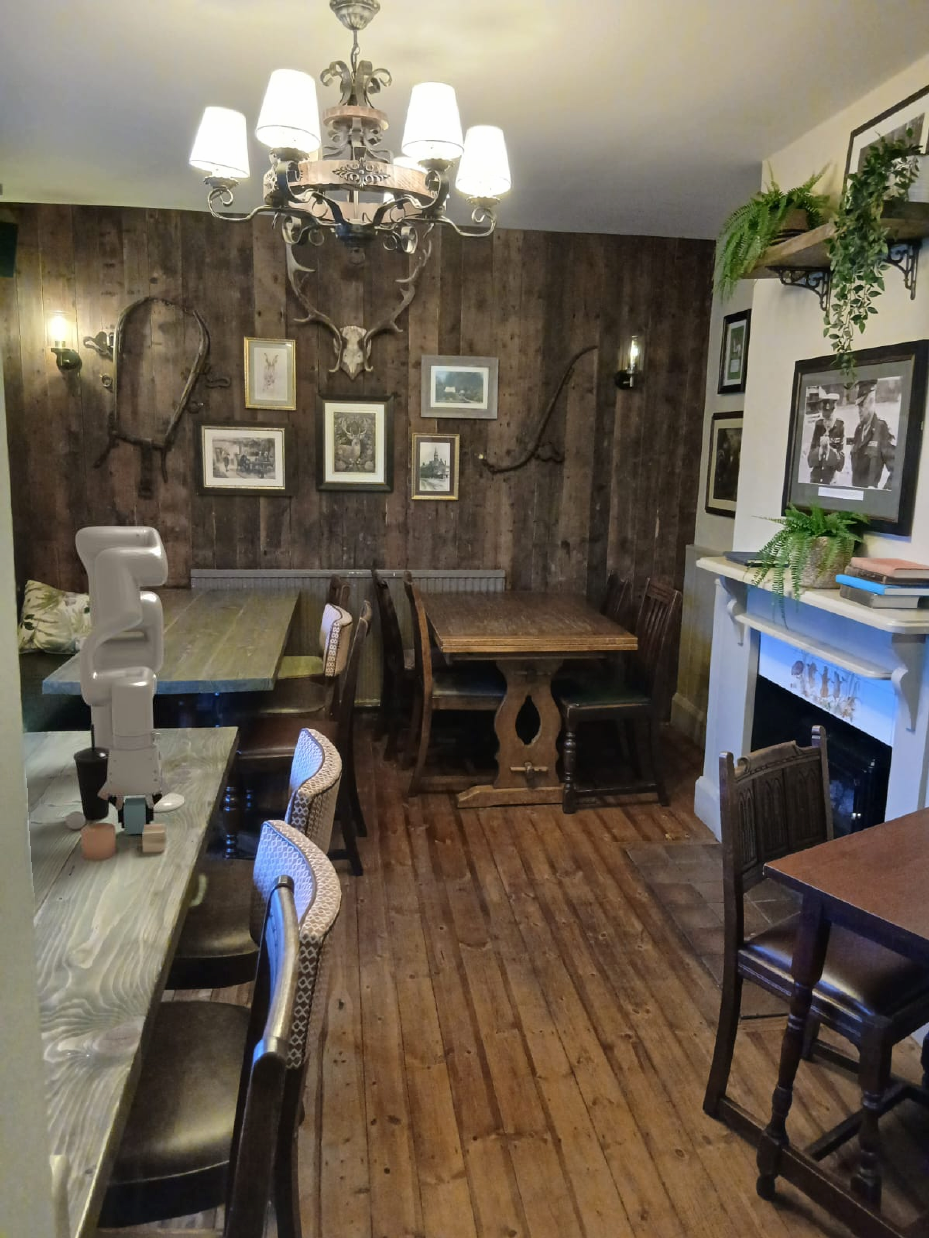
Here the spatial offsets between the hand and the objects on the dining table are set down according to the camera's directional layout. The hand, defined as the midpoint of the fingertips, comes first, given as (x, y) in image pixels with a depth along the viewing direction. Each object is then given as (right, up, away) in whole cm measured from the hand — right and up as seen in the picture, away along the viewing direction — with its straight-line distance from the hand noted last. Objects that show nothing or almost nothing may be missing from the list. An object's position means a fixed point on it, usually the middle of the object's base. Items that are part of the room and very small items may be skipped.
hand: (136, 823), depth 177 cm
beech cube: (+6, -3, -6) cm, 9 cm away
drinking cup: (-11, 0, +7) cm, 13 cm away
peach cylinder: (-4, -4, -9) cm, 11 cm away
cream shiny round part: (+1, +1, +14) cm, 14 cm away
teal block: (0, -1, 0) cm, 1 cm away
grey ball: (-12, -1, +1) cm, 13 cm away
